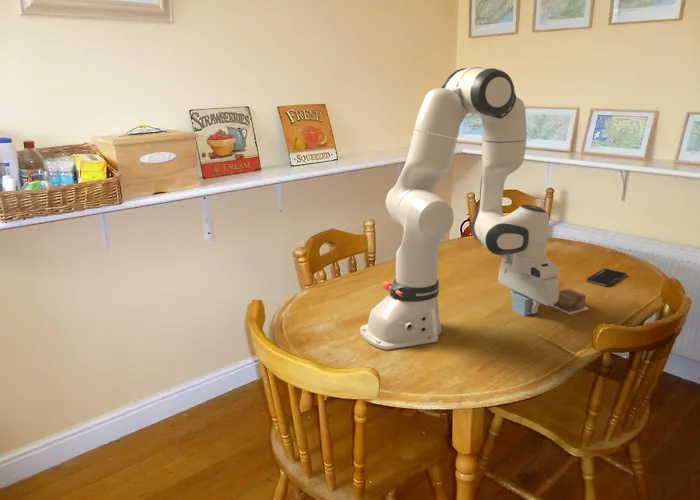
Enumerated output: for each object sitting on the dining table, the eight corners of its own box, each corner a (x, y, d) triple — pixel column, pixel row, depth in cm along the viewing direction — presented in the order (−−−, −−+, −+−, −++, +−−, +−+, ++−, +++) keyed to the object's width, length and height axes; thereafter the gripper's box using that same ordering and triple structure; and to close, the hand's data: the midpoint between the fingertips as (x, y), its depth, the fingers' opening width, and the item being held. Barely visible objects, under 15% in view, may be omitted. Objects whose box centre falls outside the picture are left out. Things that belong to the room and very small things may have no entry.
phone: (585, 279, 182) (604, 268, 192) (584, 282, 183) (604, 271, 192) (609, 285, 177) (628, 273, 187) (609, 288, 177) (627, 276, 187)
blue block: (523, 319, 156) (525, 299, 154) (511, 313, 160) (512, 293, 158) (537, 315, 158) (538, 296, 156) (524, 309, 162) (526, 290, 160)
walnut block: (569, 312, 157) (570, 299, 156) (553, 304, 162) (554, 292, 161) (584, 308, 160) (585, 295, 158) (567, 300, 165) (569, 288, 163)
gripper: (494, 254, 162) (491, 297, 166) (547, 275, 144) (542, 324, 148) (511, 250, 164) (507, 294, 168) (565, 271, 147) (559, 319, 151)
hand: (524, 308), depth 158 cm, fingers closed on blue block, 5 cm apart
